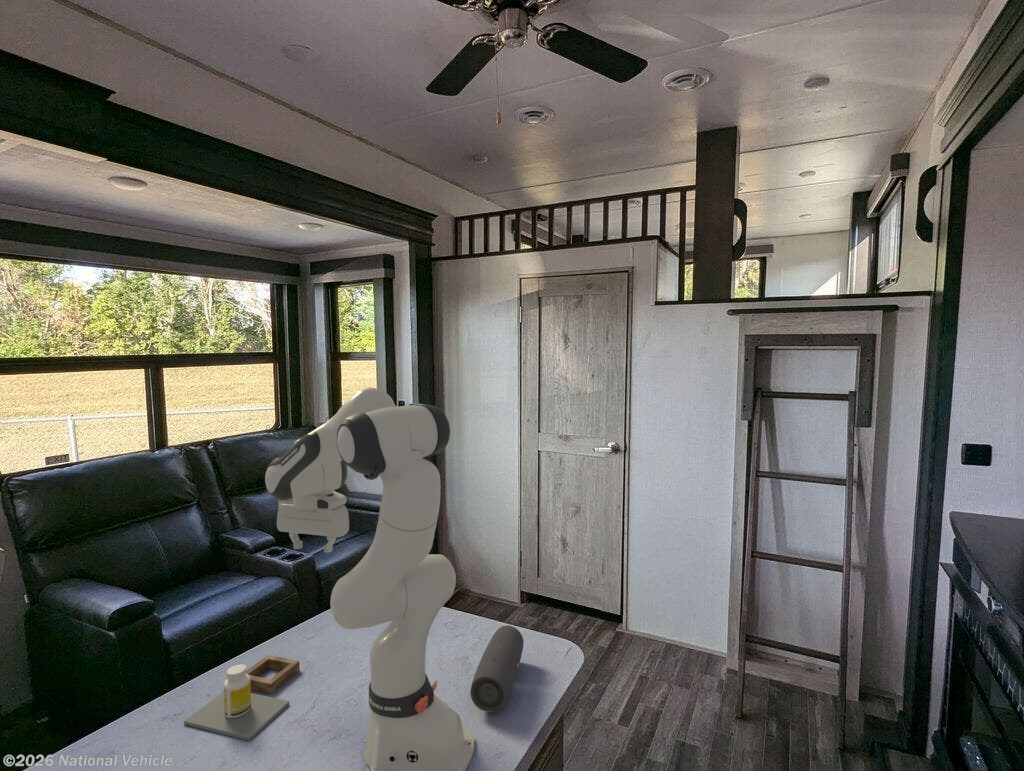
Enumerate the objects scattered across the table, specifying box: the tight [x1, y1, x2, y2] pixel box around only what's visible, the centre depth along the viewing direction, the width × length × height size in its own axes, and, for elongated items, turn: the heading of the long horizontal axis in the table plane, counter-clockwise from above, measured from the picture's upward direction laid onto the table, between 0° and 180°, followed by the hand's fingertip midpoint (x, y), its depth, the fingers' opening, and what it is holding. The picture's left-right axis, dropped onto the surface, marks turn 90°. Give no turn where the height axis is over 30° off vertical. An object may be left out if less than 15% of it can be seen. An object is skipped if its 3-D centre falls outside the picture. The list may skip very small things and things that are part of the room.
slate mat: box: [183, 691, 290, 742], centre depth 117 cm, size 18×12×1 cm, turn 73°
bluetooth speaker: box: [470, 625, 524, 713], centre depth 126 cm, size 23×9×10 cm, turn 168°
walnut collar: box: [246, 654, 300, 695], centre depth 130 cm, size 10×10×2 cm
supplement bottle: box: [223, 664, 252, 718], centre depth 116 cm, size 5×5×10 cm
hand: (313, 550), depth 134 cm, fingers open, 8 cm apart
